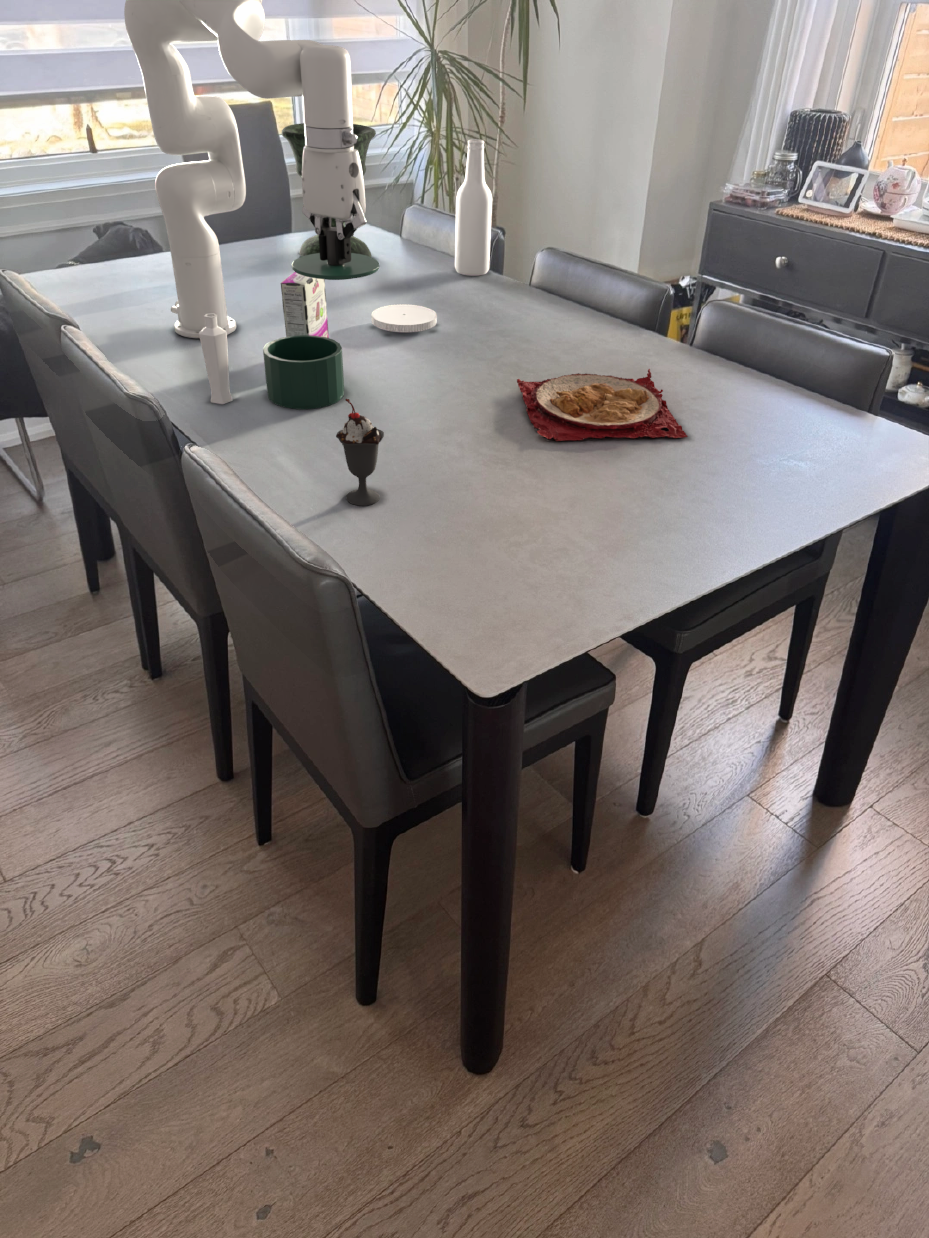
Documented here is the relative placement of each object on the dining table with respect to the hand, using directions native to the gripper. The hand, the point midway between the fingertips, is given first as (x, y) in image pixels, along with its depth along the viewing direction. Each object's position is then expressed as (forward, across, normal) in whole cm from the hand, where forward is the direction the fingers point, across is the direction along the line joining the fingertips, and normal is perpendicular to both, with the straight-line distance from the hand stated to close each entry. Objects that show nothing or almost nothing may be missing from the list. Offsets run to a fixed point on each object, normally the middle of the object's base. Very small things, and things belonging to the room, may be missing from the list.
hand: (335, 259), depth 154 cm
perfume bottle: (+23, +14, +16) cm, 32 cm away
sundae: (+23, -29, +28) cm, 47 cm away
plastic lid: (+23, +14, -36) cm, 45 cm away
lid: (+1, 0, 0) cm, 1 cm away
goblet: (+23, +62, -68) cm, 95 cm away
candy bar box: (+23, +16, -8) cm, 29 cm away
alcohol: (+23, +27, -80) cm, 88 cm away
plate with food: (+23, -41, -22) cm, 52 cm away
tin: (+23, +4, +5) cm, 24 cm away
